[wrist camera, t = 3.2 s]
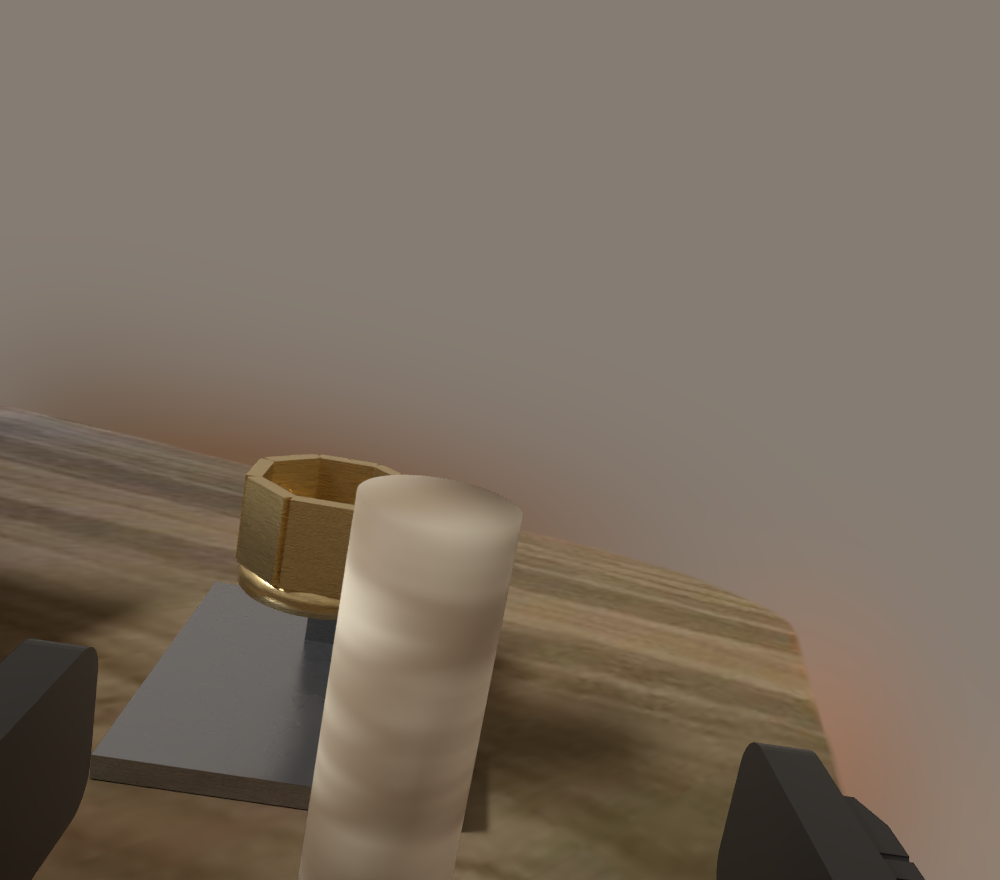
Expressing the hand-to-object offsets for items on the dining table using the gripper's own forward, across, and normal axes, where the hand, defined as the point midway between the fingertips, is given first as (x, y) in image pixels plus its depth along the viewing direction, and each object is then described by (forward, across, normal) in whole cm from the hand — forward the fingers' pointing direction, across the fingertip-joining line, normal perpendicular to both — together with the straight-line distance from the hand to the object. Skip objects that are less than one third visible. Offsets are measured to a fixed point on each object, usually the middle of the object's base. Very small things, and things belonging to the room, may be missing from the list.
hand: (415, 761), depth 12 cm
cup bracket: (+30, +4, +16) cm, 34 cm away
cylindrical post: (+12, 0, +16) cm, 20 cm away
